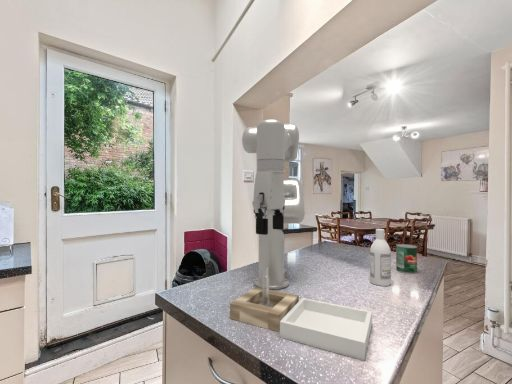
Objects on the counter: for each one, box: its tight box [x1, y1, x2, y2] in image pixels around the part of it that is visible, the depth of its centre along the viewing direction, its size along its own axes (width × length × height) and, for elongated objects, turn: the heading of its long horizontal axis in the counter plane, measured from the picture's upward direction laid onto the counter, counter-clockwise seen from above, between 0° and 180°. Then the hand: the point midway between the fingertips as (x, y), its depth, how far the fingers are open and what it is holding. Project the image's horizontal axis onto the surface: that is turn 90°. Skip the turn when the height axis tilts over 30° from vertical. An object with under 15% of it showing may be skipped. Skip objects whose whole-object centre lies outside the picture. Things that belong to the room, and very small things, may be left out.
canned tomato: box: [395, 243, 418, 275], centre depth 113 cm, size 8×8×11 cm
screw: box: [259, 266, 274, 308], centre depth 71 cm, size 13×5×5 cm
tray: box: [279, 297, 373, 362], centre depth 62 cm, size 16×18×4 cm
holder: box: [229, 286, 300, 333], centre depth 71 cm, size 14×14×4 cm
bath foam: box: [369, 228, 392, 287], centre depth 97 cm, size 7×7×20 cm
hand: (270, 231), depth 70 cm, fingers open, 9 cm apart
